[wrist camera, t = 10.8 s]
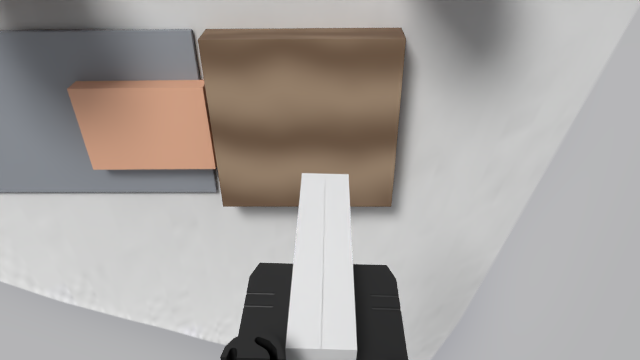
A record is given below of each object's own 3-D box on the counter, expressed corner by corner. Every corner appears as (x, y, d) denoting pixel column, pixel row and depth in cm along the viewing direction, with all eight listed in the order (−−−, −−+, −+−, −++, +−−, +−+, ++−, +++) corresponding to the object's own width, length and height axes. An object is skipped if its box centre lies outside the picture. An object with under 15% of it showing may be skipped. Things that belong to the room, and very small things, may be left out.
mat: (-82, 31, 35) (-86, 32, 35) (192, 29, 35) (190, 30, 34) (-7, 189, 43) (-10, 192, 42) (217, 189, 42) (216, 192, 42)
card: (75, 81, 36) (66, 88, 35) (206, 79, 36) (202, 87, 35) (100, 160, 40) (93, 169, 39) (219, 159, 40) (215, 168, 39)
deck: (205, 29, 35) (198, 39, 32) (401, 27, 34) (405, 38, 32) (228, 189, 42) (223, 206, 40) (388, 189, 42) (391, 206, 40)
